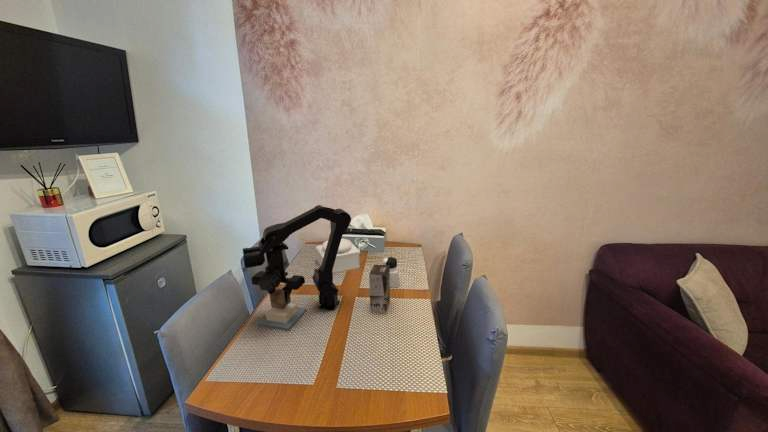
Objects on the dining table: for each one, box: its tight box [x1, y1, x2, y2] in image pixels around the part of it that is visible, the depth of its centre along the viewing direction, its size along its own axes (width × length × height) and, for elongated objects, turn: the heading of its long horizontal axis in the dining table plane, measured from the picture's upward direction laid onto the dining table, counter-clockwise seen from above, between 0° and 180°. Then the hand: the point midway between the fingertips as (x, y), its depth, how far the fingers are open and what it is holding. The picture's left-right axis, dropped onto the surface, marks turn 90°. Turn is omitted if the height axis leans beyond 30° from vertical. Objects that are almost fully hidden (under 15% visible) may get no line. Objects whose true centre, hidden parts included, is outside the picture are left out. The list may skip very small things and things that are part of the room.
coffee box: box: [368, 264, 391, 315], centre depth 126 cm, size 9×6×16 cm
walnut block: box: [269, 287, 292, 309], centre depth 120 cm, size 5×5×5 cm
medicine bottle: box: [382, 256, 400, 288], centre depth 144 cm, size 7×7×12 cm
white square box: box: [315, 237, 361, 275], centre depth 164 cm, size 18×18×16 cm
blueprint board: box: [256, 302, 308, 332], centre depth 122 cm, size 13×13×4 cm
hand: (280, 300), depth 120 cm, fingers closed on walnut block, 5 cm apart
